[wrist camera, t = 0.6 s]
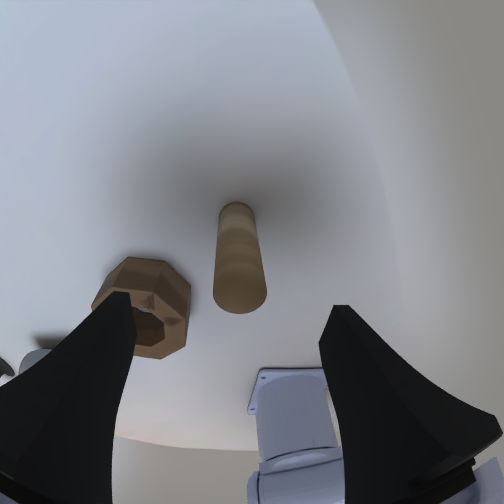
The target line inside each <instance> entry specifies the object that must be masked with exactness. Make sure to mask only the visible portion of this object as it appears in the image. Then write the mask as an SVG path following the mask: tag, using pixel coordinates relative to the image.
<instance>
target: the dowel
mask: <svg viewBox="0 0 504 504" xmlns="http://www.w3.org/2000/svg"><path fill="white" fill-rule="evenodd" d="M266 296H267V288H266V282H265V276H264V271H263V265H262V259H261V253H260V248H259V242H258V236H257V231H256V225H255V220H254V214H253V212H252V210H251V208H250V207H248V206H247V205H246V204H243V203H239V202H234V203H230V204H228V205H226V206H225V207H224V208H223V209H222V210H221V212H220V216H219V225H218V236H217V247H216V259H215V272H214V285H213V297H214V300H215V302H216V303H217V305H218V306H219V307H220V308H222V309H223V310H225V311H227V312H230V313H235V314H244V313H249V312H252V311H254V310H256V309H257V308H259V307H260V306H261V305H262V304H263V303H264V301H265V299H266Z"/></svg>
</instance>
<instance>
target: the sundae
mask: <svg viewBox="0 0 504 504" xmlns="http://www.w3.org/2000/svg"><path fill="white" fill-rule="evenodd" d="M3 374H6V375H8V376H14V371H13V370H12V368H11V367H10V366H9V365H8V364H7V363H6V362H5V361H4V360H3V359H1V358H0V377H1V376H2V375H3Z"/></svg>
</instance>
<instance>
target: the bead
mask: <svg viewBox="0 0 504 504" xmlns="http://www.w3.org/2000/svg"><path fill="white" fill-rule="evenodd" d="M190 289H191V286H190V285H189V284H188V283H187V282H186V281H185V280H184V279H183V278H182V277H181V276H180V275H178V274H177V273H176V272H175V271H174V270H173V269H172V268H171V267H170V266H169V265H168V264H167V263H166V262H165V261H160V260H150V259H141V258H132V257H127V258H126V259H125V260H124V261H123V262H122V263H121V264H120V265H119V266H117V267H116V268H115V269H114V270H113V271H112V272H111V273H110V274H109V275H108V276H107V277H106V279H105V281H104V283H103V284H102V286H101V288H100V290H99V292H98V294H97V295H96V297H95V299H94V301H93V303H92V305H91V308H92V312H93V311H94V310H95V309H96V307H97V306H98V305H99V304H100V303H101V302H102V301H103V300H105V299H106V298H107V297H108V296H109V295H110V294H111V293H112V292H113V291H120V292H129V293H130V299H131V304H132V310H133V315H134V320H135V325H136V330H137V337H136V343H135V349H134V354H133V356H140V357H146V358H153V359H162V358H164V357H166V356H168V355H170V354H172V353H174V352H176V351H178V350H179V349H181V348H183V347H185V345H186V338H187V330H188V323H189V316H190ZM135 307H139V308H146V309H147V310H149V311H150V312H151V313H144V312H140V311H139V310H138V309H137V308H135Z"/></svg>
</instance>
